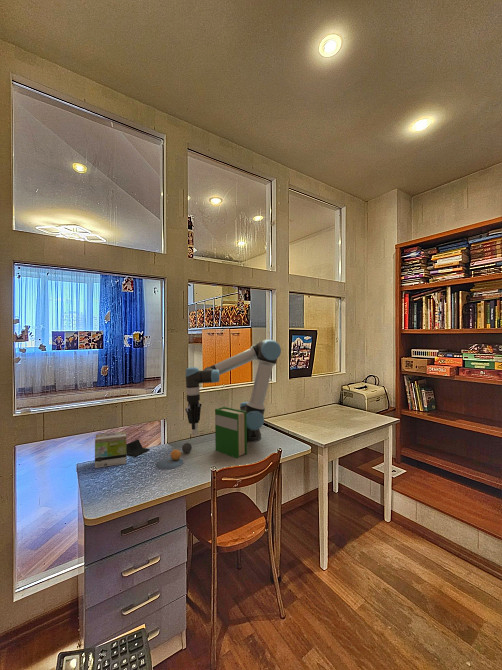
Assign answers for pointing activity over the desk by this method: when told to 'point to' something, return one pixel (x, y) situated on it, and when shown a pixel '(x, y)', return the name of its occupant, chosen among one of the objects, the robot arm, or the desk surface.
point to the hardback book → (231, 431)
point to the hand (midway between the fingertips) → (195, 434)
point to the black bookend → (135, 448)
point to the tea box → (110, 449)
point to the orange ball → (175, 454)
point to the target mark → (169, 463)
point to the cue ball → (186, 447)
